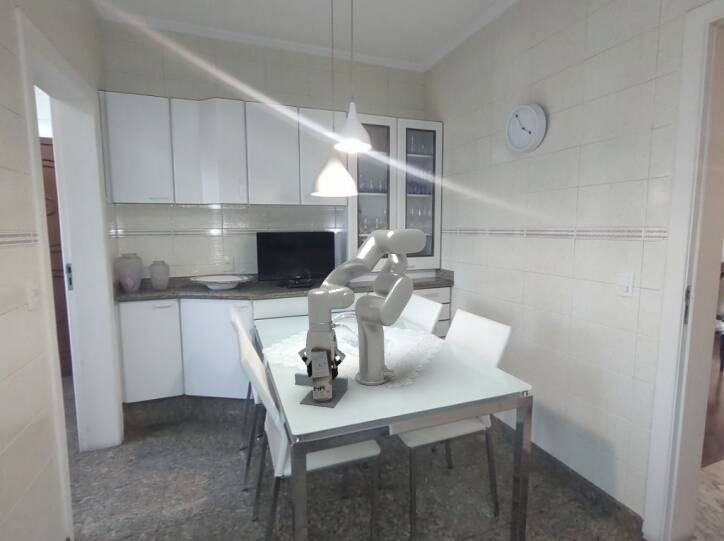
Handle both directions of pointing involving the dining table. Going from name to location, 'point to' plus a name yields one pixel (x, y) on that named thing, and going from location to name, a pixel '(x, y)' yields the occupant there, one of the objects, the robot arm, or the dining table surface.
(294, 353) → the dining table surface
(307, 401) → the resting mat
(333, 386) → the grey flat bar
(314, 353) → the coffee box
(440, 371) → the dining table surface
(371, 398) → the dining table surface
